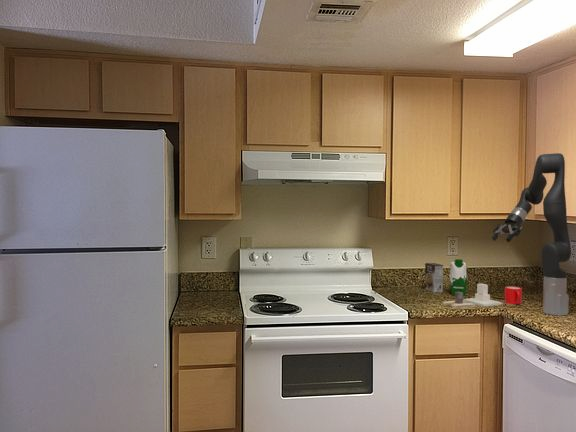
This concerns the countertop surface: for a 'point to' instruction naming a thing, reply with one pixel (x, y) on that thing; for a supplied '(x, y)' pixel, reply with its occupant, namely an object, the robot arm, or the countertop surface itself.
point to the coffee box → (434, 277)
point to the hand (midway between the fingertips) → (500, 240)
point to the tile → (489, 303)
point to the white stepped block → (482, 293)
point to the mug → (513, 295)
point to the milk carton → (458, 276)
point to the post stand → (459, 302)
